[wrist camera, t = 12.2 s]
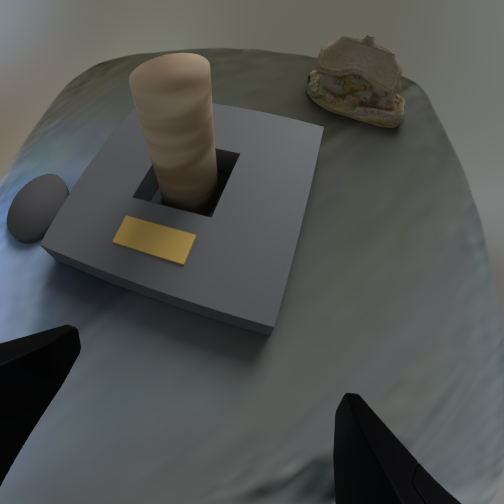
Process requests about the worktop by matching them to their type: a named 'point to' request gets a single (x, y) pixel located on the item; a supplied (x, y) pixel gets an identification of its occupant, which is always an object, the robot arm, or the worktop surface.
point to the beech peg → (179, 128)
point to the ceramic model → (358, 81)
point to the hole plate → (196, 220)
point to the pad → (36, 207)
